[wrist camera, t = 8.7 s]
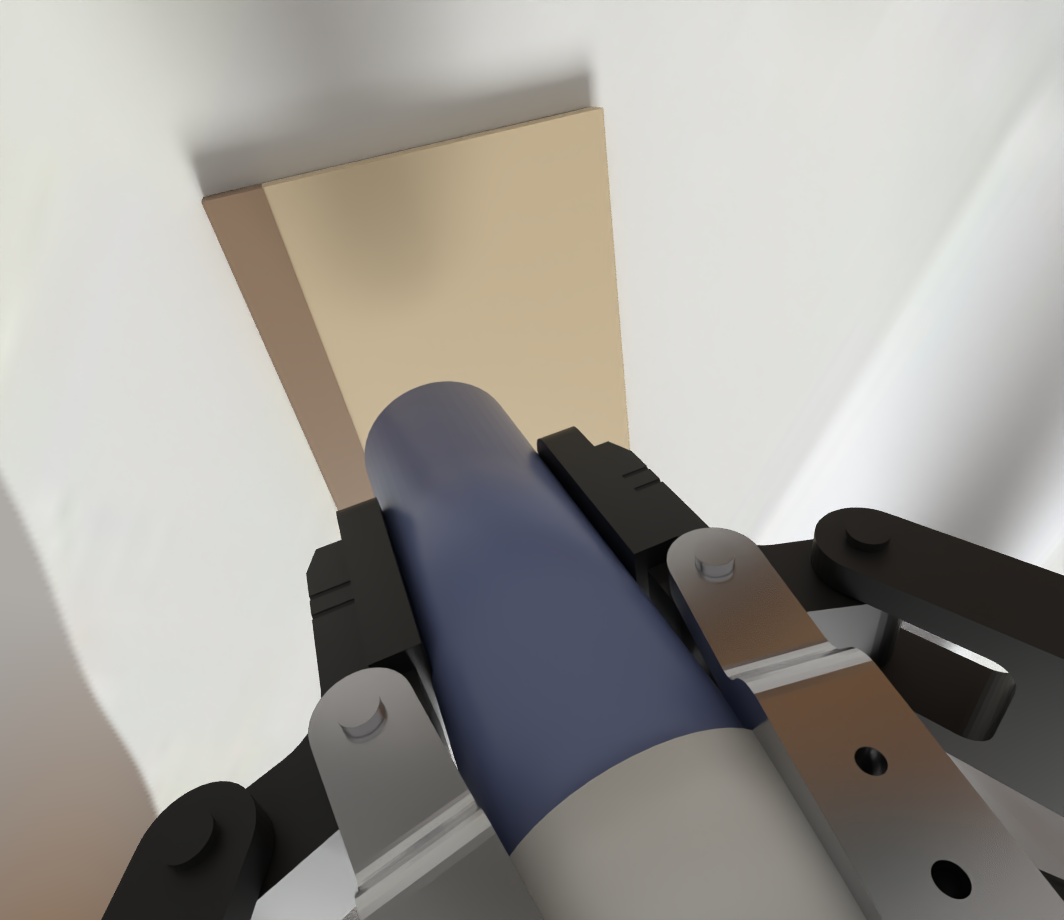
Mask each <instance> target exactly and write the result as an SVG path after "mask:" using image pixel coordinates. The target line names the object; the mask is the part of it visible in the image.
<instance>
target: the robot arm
mask: <svg viewBox="0 0 1064 920" xmlns="http://www.w3.org/2000/svg"><path fill="white" fill-rule="evenodd" d="M537 452H538V455H539V456H540V457H541V458H542V460H543V461H544V462H545V464H546V465H547V466H548V468H549V469H550V470H551V471H552V473H553V474H554V475H555V477H556V478H557V479H558V481H559V482H560V483H561V485H562V486H563V487H564V488H565V490H566V491H567V492H568V494H569V495H570V496H571V498H572V499H573V500H574V501H575V503H576V504H577V505H578V507H579V508H580V509H581V511H582V512H583V513H584V514H585V516H586V517H587V518H588V520H589V521H590V522H591V524H592V525H593V526H594V527H595V529H596V530H597V531H598V533H599V534H600V535H601V537H602V538H603V539H604V540H605V542H606V543H607V544H608V546H609V547H610V548H611V550H612V551H613V552H614V553H615V555H616V556H617V557H618V559H619V560H620V561H621V563H622V564H623V565H624V566H625V568H626V569H627V570H628V572H629V573H630V574H631V576H632V577H633V578H634V579H635V581H636V582H637V583H638V585H639V586H640V587H641V589H642V590H643V591H644V592H645V594H646V595H647V596H648V598H649V599H650V600H651V602H652V603H653V604H654V605H655V607H656V608H657V609H658V611H659V612H660V613H661V615H662V616H663V617H664V618H665V620H666V621H667V622H668V624H669V625H670V626H671V628H672V629H673V630H674V631H675V633H676V634H677V635H678V637H679V638H680V639H681V641H682V642H683V643H684V644H685V646H686V647H687V648H688V650H689V651H690V652H691V654H692V655H693V656H694V657H695V659H696V660H697V661H698V663H699V664H700V665H701V667H702V668H703V669H704V670H705V672H706V673H707V674H708V676H709V677H710V678H711V680H712V681H713V682H714V683H715V685H716V686H717V687H718V689H719V690H720V691H721V693H722V695H723V697H724V698H725V700H726V701H727V703H728V704H729V705H730V707H731V708H732V710H733V712H734V713H735V715H736V716H737V718H738V719H739V721H740V722H741V724H742V726H743V727H744V728H745V729H749V730H752V731H753V733H754V734H755V736H756V738H757V739H758V741H759V742H760V744H761V746H762V747H763V749H764V750H765V752H766V754H767V755H768V757H769V758H770V760H771V762H772V763H773V765H774V766H775V768H776V770H777V771H778V773H779V774H780V776H781V778H782V779H783V781H784V783H785V784H786V786H787V788H788V789H789V791H790V793H791V794H792V796H793V798H794V799H795V801H796V803H797V804H798V806H799V808H800V809H801V811H802V812H803V814H804V816H805V817H806V819H807V821H808V822H809V824H810V826H811V827H812V829H813V831H814V832H815V834H816V836H817V837H818V839H819V841H820V842H821V844H822V846H823V847H824V849H825V851H826V852H827V854H828V856H829V857H830V859H831V861H832V862H833V864H834V866H835V867H836V869H837V871H838V872H839V874H840V875H841V877H842V879H843V880H844V882H845V884H846V886H847V887H848V889H849V891H850V892H851V894H852V896H853V897H854V899H855V901H856V903H857V904H858V906H859V908H860V909H861V911H862V913H863V914H864V916H865V918H866V920H1064V575H1061V574H1058V573H1055V572H1052V571H1049V570H1047V569H1044V568H1041V567H1038V566H1035V565H1032V564H1030V563H1027V562H1024V561H1021V560H1018V559H1015V558H1013V557H1010V556H1007V555H1004V554H1001V553H998V552H996V551H993V550H990V549H987V548H984V547H981V546H979V545H976V544H973V543H970V542H967V541H964V540H962V539H959V538H956V537H953V536H950V535H948V534H945V533H942V532H939V531H936V530H933V529H931V528H928V527H925V526H922V525H919V524H916V523H914V522H911V521H908V520H905V519H902V518H899V517H897V516H894V515H891V514H888V513H885V512H882V511H878V510H874V509H869V508H844V509H840V510H836V511H833V512H831V513H828V514H827V515H825V516H824V517H823V518H822V519H820V520H819V522H818V523H817V525H816V528H815V533H814V539H812V540H804V541H797V542H790V543H782V544H775V545H756V544H755V543H754V542H753V541H751V540H750V539H749V538H747V537H746V536H744V535H742V534H740V533H738V532H735V531H732V530H728V529H723V528H710V527H708V526H707V525H706V524H705V523H704V522H703V521H702V520H701V519H700V518H699V517H698V516H697V515H696V514H695V513H694V512H693V511H692V510H691V509H690V508H689V507H688V506H687V505H686V504H685V503H684V502H683V501H682V500H681V499H680V498H679V497H678V496H677V495H676V494H675V493H674V492H673V491H672V490H671V489H670V488H669V487H668V486H667V485H666V484H665V483H664V482H660V479H659V478H658V477H657V476H656V475H655V474H654V473H653V472H652V471H651V470H650V469H647V466H646V465H645V464H644V463H643V462H642V461H641V460H640V459H639V458H638V457H637V456H636V455H635V454H634V453H633V452H632V451H630V450H628V449H626V448H623V447H621V446H618V445H616V444H614V443H611V442H609V441H607V442H605V443H602V444H599V445H597V446H593V444H592V443H591V442H590V441H589V440H588V439H587V438H586V437H585V436H584V435H583V434H582V433H581V432H580V431H579V429H577V428H576V427H574V426H572V427H570V428H567V429H564V430H561V431H559V432H556V433H553V434H550V435H548V436H545V437H542V438H539V439H538V440H537ZM336 514H337V520H338V524H339V529H340V534H341V539H342V540H340V541H337V542H335V543H332V544H329V545H327V546H324V547H321V548H319V549H316V551H315V553H314V556H313V558H312V561H311V563H310V566H309V568H308V571H307V573H306V576H307V583H308V591H309V597H310V600H311V601H310V607H311V615H312V618H313V620H312V623H313V631H314V639H315V647H316V655H317V663H318V671H319V679H320V687H321V699H320V701H319V702H318V704H317V705H316V707H315V709H314V711H313V713H312V716H311V719H310V723H309V728H308V734H307V735H306V737H305V738H304V739H303V741H302V742H301V743H300V744H299V745H298V746H297V747H296V749H295V750H294V751H293V752H292V753H291V754H289V755H288V756H287V757H286V758H285V759H284V760H282V761H281V762H280V763H279V764H277V765H276V766H275V767H273V768H272V769H271V770H269V771H268V772H267V773H266V774H264V775H263V776H262V777H260V778H259V779H258V780H257V781H255V782H254V783H253V784H251V785H250V786H249V787H247V788H246V789H245V788H244V787H242V786H241V785H239V784H237V783H233V782H227V781H219V782H212V783H208V784H205V785H202V786H199V787H197V788H195V789H193V790H191V791H189V792H188V793H186V794H184V795H183V796H181V797H180V798H178V799H177V800H176V801H174V802H173V803H172V804H170V805H169V806H168V807H167V808H166V809H165V810H164V811H163V812H162V813H161V814H160V815H159V816H158V817H157V818H156V820H155V821H154V822H153V823H152V824H151V826H150V827H149V829H148V830H147V831H146V833H145V834H144V836H143V838H142V839H141V841H140V843H139V845H138V847H137V849H136V851H135V853H134V855H133V857H132V859H131V861H130V863H129V865H128V867H127V869H126V871H125V873H124V875H123V877H122V879H121V881H120V883H119V885H118V887H117V889H116V891H115V893H114V896H113V897H112V899H111V901H110V903H109V905H108V907H107V910H106V911H105V913H104V915H103V917H102V920H342V919H343V918H344V917H345V916H346V915H347V914H348V913H350V912H351V911H352V910H353V909H354V908H355V907H356V909H357V913H358V917H359V920H544V918H543V916H542V914H541V913H540V911H539V909H538V907H537V905H536V904H535V902H534V900H533V898H532V896H531V895H530V893H529V891H528V889H527V887H526V886H525V884H524V882H523V880H522V879H521V877H520V875H519V873H518V871H517V870H516V868H515V866H514V864H513V862H512V861H511V859H510V857H509V855H508V854H507V852H506V850H505V848H504V846H503V845H502V843H501V841H500V839H499V837H498V836H497V834H496V832H495V830H494V829H493V827H492V825H491V823H490V822H489V820H488V818H487V816H486V815H485V813H484V812H483V810H482V808H481V807H480V806H479V804H477V803H476V801H475V800H474V798H473V796H472V795H471V793H470V791H469V789H468V788H467V786H466V784H465V782H464V780H463V779H462V777H461V775H460V773H459V771H458V770H457V768H456V766H455V764H454V762H453V760H452V758H451V755H450V751H449V748H448V745H447V744H450V741H449V738H448V735H447V732H446V728H445V725H444V722H443V719H442V715H441V712H440V709H439V706H438V702H437V699H436V696H435V693H434V689H433V683H432V672H433V670H432V667H431V664H430V660H429V657H428V654H427V651H426V648H425V645H424V641H423V638H422V635H421V632H420V629H419V626H418V622H417V619H416V616H415V613H414V610H413V607H412V603H411V600H410V597H409V594H408V591H407V588H406V584H405V581H404V578H403V575H402V572H401V569H400V565H399V562H398V559H397V556H396V553H395V550H394V546H393V543H392V540H391V537H390V534H389V531H388V528H387V524H386V521H385V518H384V515H383V512H382V509H381V507H380V504H379V502H378V499H377V497H375V498H372V499H369V500H367V501H364V502H361V503H358V504H355V505H353V506H350V507H347V508H344V509H342V510H339V511H336ZM902 620H903V621H906V622H908V623H910V624H912V625H914V626H917V627H919V628H921V629H923V630H926V631H928V632H930V633H932V634H934V635H937V636H939V637H941V638H943V639H946V640H948V641H950V642H952V643H954V644H957V645H959V646H961V647H963V648H966V649H968V650H970V651H972V652H974V653H977V654H979V655H981V656H983V657H986V658H988V659H990V660H992V661H994V662H996V663H997V664H999V665H1000V666H1002V667H1003V668H1004V669H1006V670H1007V671H1008V672H1009V673H1003V672H998V671H994V670H991V669H989V668H987V667H984V666H982V665H980V664H978V663H976V662H974V661H971V660H969V659H967V658H965V657H963V656H960V655H958V654H956V653H954V652H952V651H950V650H947V649H945V648H943V647H941V646H939V645H937V644H934V643H932V642H930V641H928V640H926V639H923V638H921V637H919V636H917V635H915V634H913V633H910V632H908V631H906V630H904V629H902V628H900V627H901V624H902Z"/></svg>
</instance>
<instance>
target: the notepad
mask: <svg viewBox="0 0 1064 920" xmlns="http://www.w3.org/2000/svg"><path fill="white" fill-rule="evenodd" d="M202 205H203V207H204V209H205V211H206V214H207V216H208V218H209V220H210V223H211V225H212V227H213V229H214V232H215V234H216V236H217V238H218V241H219V243H220V245H221V247H222V250H223V252H224V254H225V256H226V259H227V261H228V263H229V265H230V268H231V270H232V272H233V275H234V277H235V279H236V281H237V284H238V286H239V288H240V290H241V293H242V295H243V297H244V299H245V302H246V304H247V306H248V308H249V311H250V313H251V315H252V317H253V320H254V322H255V324H256V326H257V329H258V331H259V333H260V335H261V338H262V340H263V342H264V344H265V347H266V349H267V351H268V353H269V356H270V358H271V360H272V362H273V365H274V367H275V369H276V371H277V374H278V376H279V378H280V380H281V383H282V385H283V387H284V389H285V392H286V394H287V396H288V398H289V401H290V403H291V405H292V408H293V410H294V412H295V414H296V417H297V419H298V421H299V423H300V426H301V428H302V430H303V432H304V435H305V437H306V439H307V441H308V444H309V446H310V448H311V450H312V453H313V455H314V457H315V459H316V462H317V464H318V466H319V468H320V471H321V473H322V475H323V477H324V480H325V482H326V484H327V486H328V489H329V491H330V493H331V495H332V498H333V500H334V502H335V504H336V507H337V509H338V511H339V510H342V509H344V508H347V507H350V506H353V505H355V504H358V503H361V502H364V501H367V500H369V499H372V498H375V497H374V494H373V491H372V487H371V484H370V481H369V477H368V474H367V471H366V467H365V460H364V453H365V445H366V440H367V437H368V434H369V431H370V429H371V427H372V425H373V423H374V422H375V420H376V419H377V417H378V416H379V414H380V413H381V412H382V411H383V410H384V409H385V408H386V407H387V406H388V405H389V404H390V403H391V402H392V401H393V400H395V399H396V398H398V397H399V396H400V395H402V394H404V393H406V392H407V391H409V390H411V389H414V388H416V387H419V386H421V385H425V384H429V383H433V382H441V381H454V382H462V383H466V384H470V385H473V386H475V387H478V388H480V389H482V390H484V391H485V392H487V393H488V394H490V395H491V396H492V397H493V398H494V399H495V400H496V401H497V402H498V403H499V404H500V405H501V406H502V408H503V409H504V410H505V412H506V413H507V414H508V416H509V417H510V418H511V419H512V421H513V422H514V423H515V425H516V426H517V427H518V429H519V430H520V431H521V432H522V434H523V435H524V436H525V438H526V439H527V440H528V442H529V443H530V444H531V445H532V447H533V448H534V449H535V451H536V452H537V440H538V439H539V438H542V437H545V436H548V435H550V434H553V433H556V432H559V431H561V430H564V429H567V428H570V427H572V426H574V427H576V428H577V429H579V431H580V432H581V433H582V434H583V435H584V436H585V437H586V438H587V439H588V440H589V441H590V442H591V443H592V444H593V446H597V445H599V444H602V443H605V442H607V441H609V442H611V443H614V444H616V445H618V446H621V447H623V448H626V449H628V450H630V444H629V431H628V418H627V406H626V393H625V380H624V368H623V355H622V342H621V330H620V317H619V304H618V292H617V279H616V266H615V254H614V241H613V228H612V216H611V203H610V190H609V178H608V165H607V152H606V140H605V127H604V114H603V108H599V107H589V108H584V109H580V110H576V111H571V112H567V113H563V114H558V115H554V116H550V117H546V118H541V119H537V120H533V121H528V122H524V123H520V124H515V125H511V126H507V127H502V128H498V129H494V130H490V131H485V132H481V133H477V134H472V135H468V136H464V137H459V138H455V139H451V140H447V141H442V142H438V143H434V144H429V145H425V146H421V147H416V148H412V149H408V150H404V151H399V152H395V153H391V154H386V155H382V156H378V157H373V158H369V159H365V160H360V161H356V162H352V163H348V164H343V165H339V166H335V167H330V168H326V169H322V170H317V171H313V172H309V173H305V174H300V175H296V176H292V177H287V178H283V179H279V180H274V181H270V182H266V183H262V184H257V185H253V186H249V187H244V188H240V189H236V190H231V191H227V192H223V193H218V194H214V195H210V196H206V197H203V199H202ZM537 453H538V452H537Z"/></svg>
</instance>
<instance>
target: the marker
mask: <svg viewBox="0 0 1064 920" xmlns="http://www.w3.org/2000/svg"><path fill="white" fill-rule="evenodd" d="M364 460H365V467H366V471H367V474H368V477H369V481H370V484H371V487H372V491H373V494H374V497H377V499H378V502H379V504H380V507H381V509H382V512H383V515H384V518H385V521H386V524H387V528H388V531H389V534H390V537H391V540H392V543H393V546H394V550H395V553H396V556H397V559H398V562H399V565H400V569H401V572H402V575H403V578H404V581H405V584H406V588H407V591H408V594H409V597H410V600H411V603H412V607H413V610H414V613H415V616H416V619H417V622H418V626H419V629H420V632H421V635H422V638H423V641H424V645H425V648H426V651H427V654H428V657H429V660H430V664H431V667H432V670H433V672H432V683H433V689H434V693H435V696H436V699H437V702H438V706H439V709H440V712H441V715H442V719H443V722H444V725H445V728H446V732H447V735H448V738H449V741H450V745H451V748H452V751H453V755H454V758H455V761H456V764H457V768H458V771H459V773H460V775H461V777H462V779H463V780H464V782H465V784H466V786H467V788H468V789H469V791H470V793H471V795H472V796H473V798H474V800H475V801H476V803H477V804H479V806H480V807H481V808H482V810H483V812H484V813H485V815H486V816H487V818H488V820H489V822H490V823H491V825H492V827H493V829H494V830H495V832H496V834H497V836H498V837H499V839H500V841H501V843H502V845H503V846H504V848H505V850H506V852H507V854H508V855H509V857H510V859H511V861H512V862H513V864H514V866H515V868H516V870H517V871H518V873H519V875H520V877H521V879H522V880H523V882H524V884H525V886H526V887H527V889H528V891H529V893H530V895H531V896H532V898H533V900H534V902H535V904H536V905H537V907H538V909H539V911H540V913H541V914H542V916H543V918H544V920H866V918H865V916H864V914H863V913H862V911H861V909H860V908H859V906H858V904H857V903H856V901H855V899H854V897H853V896H852V894H851V892H850V891H849V889H848V887H847V886H846V884H845V882H844V880H843V879H842V877H841V875H840V874H839V872H838V871H837V869H836V867H835V866H834V864H833V862H832V861H831V859H830V857H829V856H828V854H827V852H826V851H825V849H824V847H823V846H822V844H821V842H820V841H819V839H818V837H817V836H816V834H815V832H814V831H813V829H812V827H811V826H810V824H809V822H808V821H807V819H806V817H805V816H804V814H803V812H802V811H801V809H800V808H799V806H798V804H797V803H796V801H795V799H794V798H793V796H792V794H791V793H790V791H789V789H788V788H787V786H786V784H785V783H784V781H783V779H782V778H781V776H780V774H779V773H778V771H777V770H776V768H775V766H774V765H773V763H772V762H771V760H770V758H769V757H768V755H767V754H766V752H765V750H764V749H763V747H762V746H761V744H760V742H759V741H758V739H757V738H756V736H755V734H754V733H753V731H752V730H749V729H745V728H744V727H743V726H742V724H741V722H740V721H739V719H738V718H737V716H736V715H735V713H734V712H733V710H732V708H731V707H730V705H729V704H728V703H727V701H726V700H725V698H724V697H723V695H722V693H721V691H720V690H719V689H718V687H717V686H716V685H715V683H714V682H713V681H712V680H711V678H710V677H709V676H708V674H707V673H706V672H705V670H704V669H703V668H702V667H701V665H700V664H699V663H698V661H697V660H696V659H695V657H694V656H693V655H692V654H691V652H690V651H689V650H688V648H687V647H686V646H685V644H684V643H683V642H682V641H681V639H680V638H679V637H678V635H677V634H676V633H675V631H674V630H673V629H672V628H671V626H670V625H669V624H668V622H667V621H666V620H665V618H664V617H663V616H662V615H661V613H660V612H659V611H658V609H657V608H656V607H655V605H654V604H653V603H652V602H651V600H650V599H649V598H648V596H647V595H646V594H645V592H644V591H643V590H642V589H641V587H640V586H639V585H638V583H637V582H636V581H635V579H634V578H633V577H632V576H631V574H630V573H629V572H628V570H627V569H626V568H625V566H624V565H623V564H622V563H621V561H620V560H619V559H618V557H617V556H616V555H615V553H614V552H613V551H612V550H611V548H610V547H609V546H608V544H607V543H606V542H605V540H604V539H603V538H602V537H601V535H600V534H599V533H598V531H597V530H596V529H595V527H594V526H593V525H592V524H591V522H590V521H589V520H588V518H587V517H586V516H585V514H584V513H583V512H582V511H581V509H580V508H579V507H578V505H577V504H576V503H575V501H574V500H573V499H572V498H571V496H570V495H569V494H568V492H567V491H566V490H565V488H564V487H563V486H562V485H561V483H560V482H559V481H558V479H557V478H556V477H555V475H554V474H553V473H552V471H551V470H550V469H549V468H548V466H547V465H546V464H545V462H544V461H543V460H542V458H541V457H540V456H539V455H538V453H537V452H536V451H535V449H534V448H533V447H532V445H531V444H530V443H529V442H528V440H527V439H526V438H525V436H524V435H523V434H522V432H521V431H520V430H519V429H518V427H517V426H516V425H515V423H514V422H513V421H512V419H511V418H510V417H509V416H508V414H507V413H506V412H505V410H504V409H503V408H502V406H501V405H500V404H499V403H498V402H497V401H496V400H495V399H494V398H493V397H492V396H491V395H490V394H488V393H487V392H485V391H484V390H482V389H480V388H478V387H475V386H473V385H470V384H466V383H462V382H454V381H441V382H433V383H429V384H425V385H421V386H419V387H416V388H414V389H411V390H409V391H407V392H406V393H404V394H402V395H400V396H399V397H398V398H396V399H395V400H393V401H392V402H391V403H390V404H389V405H388V406H387V407H386V408H385V409H384V410H383V411H382V412H381V413H380V414H379V416H378V417H377V419H376V420H375V422H374V423H373V425H372V427H371V429H370V431H369V434H368V437H367V440H366V445H365V453H364Z"/></svg>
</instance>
